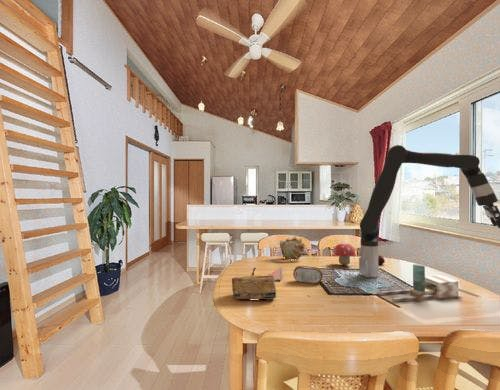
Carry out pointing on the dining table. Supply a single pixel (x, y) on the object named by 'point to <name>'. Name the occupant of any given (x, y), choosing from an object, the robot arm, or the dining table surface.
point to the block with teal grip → (421, 282)
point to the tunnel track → (444, 292)
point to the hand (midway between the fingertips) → (499, 226)
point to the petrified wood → (254, 287)
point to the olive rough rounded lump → (292, 248)
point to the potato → (380, 260)
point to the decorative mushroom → (344, 253)
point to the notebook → (277, 274)
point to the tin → (308, 274)
